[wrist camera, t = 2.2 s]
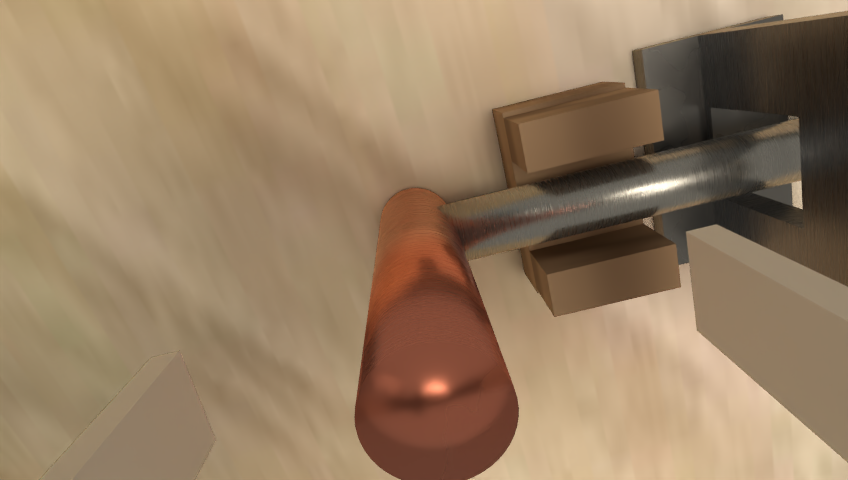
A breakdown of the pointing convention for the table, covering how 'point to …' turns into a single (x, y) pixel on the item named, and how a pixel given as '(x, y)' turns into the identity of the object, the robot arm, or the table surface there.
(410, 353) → the hook
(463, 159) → the table surface
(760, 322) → the robot arm
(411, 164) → the table surface
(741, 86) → the eye bracket
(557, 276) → the cradle
